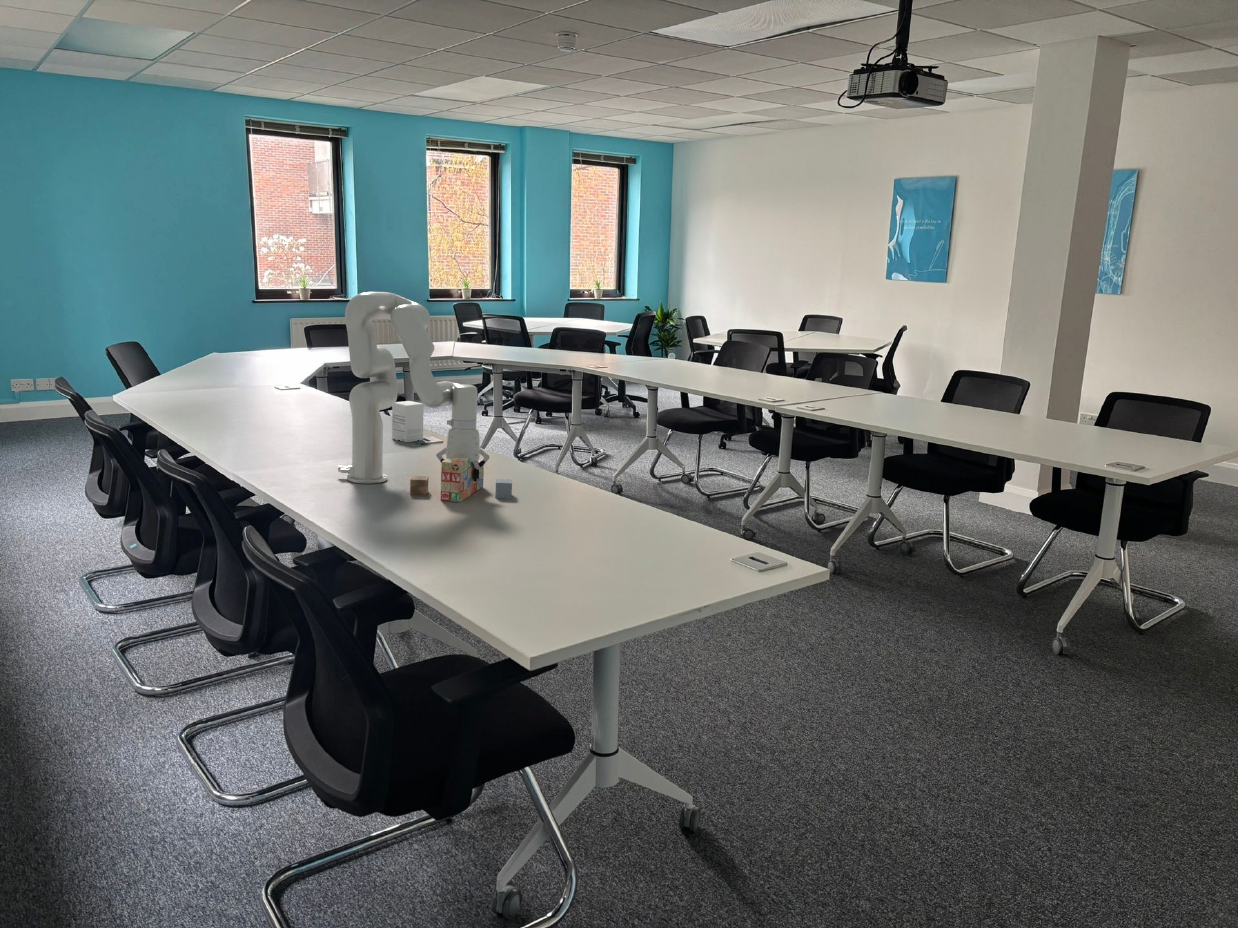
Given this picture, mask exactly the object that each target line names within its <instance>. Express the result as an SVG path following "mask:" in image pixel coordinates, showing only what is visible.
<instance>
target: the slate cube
mask: <svg viewBox="0 0 1238 928" xmlns="http://www.w3.org/2000/svg"><path fill="white" fill-rule="evenodd" d="M512 492H513V479H512V478H511V479H508V478H503V479H502V478H496V479H495V497H494V498H495V499H509V500H510V499H512V498H513V497H512V496H513V495H512V494H513V493H512Z"/></svg>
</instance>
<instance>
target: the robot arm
mask: <svg viewBox="0 0 1238 928" xmlns="http://www.w3.org/2000/svg"><path fill="white" fill-rule="evenodd" d="M373 320H389V321H391V324H392V326H393V328H394V331H395V333H396V334H397V337H398V339H399V341H400V342H401V345H402V346H403V349H404V350H405V353H406V355H407V356H408V359H409V363H408V364H409V365H408V366H409V376H410V382H411V383H412V386H413V388H414V390H415V392H416V394H417V396H418V398H419V400H420V401H421V403H423V405H425V407H427V408H430V409H438V408H442V407H446V406H451V409H452V410H451V419H448V420H446V425H448V426H451V427H450V428H448V433H447V439H446V447H444V448H443V449H441V450H440V451H439V452H436V454H435V455H436V458H437V459H438V460H439V461H440V464H442V461H444V460H446V459H448V458H450V457H454V458H470V462H473V463H474V465H475V470H474V481H475V482H476V481H477V479H479V469H480V468H481V467H482V466H483V465H485V464H486V463H487V462H488V461H489V459H490V455H489V454H488V453H487V452H485V451H484V450H483V449H482V448H481V443H480V442H481V441H480V431H479V428H477V419H478V417H477V415H478V412H477V411H478V388H477V386H475V385H472V384H466V383H462V384H461V383H456V382H453V381H450V380H449V381H448V380H444V381H438V382H437V381H436V379H435V377H434V375H433V373H432V370H431V364H430V360H431V357H432V355H433V353H434V352H435V345H434V343H433V341H432V339H431V337H430V334H429V333H428V331H427V328H428V327H429V326H430V323H431V315H430V312H429V311H428V309H427V308H426V307H425V306H424V305H422V304H420V303H419V302H418V303H417V302H416V301H413V300H410V299H408V298H405V297H403V296H401V295H398V294H396V293H394V292H393V293H392V292H386V291H367V292H365V291H364V292H360V293H358V294H356V295H354V296H353V297H351V299H349V301H348V303H347V304H346V306H345V310H344V321H345V326H346V331H347V340H348V343H347V344H348V351H349V352H348V353H349V362H350V363H349V364H350V369H351V372H352V373H353V375H354V376H355V377H356V378H357V377H358V378H360V379H368V378H369V381H366V382H361V383H359V384H357V385H355V386H354V387H353V388H352V389H351V390H350V393H349V396H348V401H349V407H350V413H351V414H350V415H351V423H352V424H351V432H352V433H351V437H352V438H351V439H352V440H351V441H352V442H351V443H352V444H351V449H352V450H351V455H352V456H351V462H352V463H351V464H350V465H348V466H345V465H338V467H337V469H338V473H340V474H348V475H347V476H346V480H347V481H349V482H352V483H355V484H370V485H371V484H378V483H383V482H386V481H387V480H388V475H387V474H385V473H383V469H384V468H383V467H384V466H383V465H384V464H383V462H384V461H383V459H384V455H383V454H384V453H383V451H384V423H383V418H382V415H381V411H382V410H387V409H389V408H392V406H393V405H394V403H395V402H397V399H398V382H397V373H396V363H395V359H394V357H393V354H392V353H391V351H389V349H388V348H386V347H383V346H378V344H377V335H376V331H375V328H374V326H373V324H372V321H373ZM443 455H445V457H446V459H445V458H444V457H443ZM480 456H482V457H483V458H482V459H483V460H482V461H481V462H480V463H479V462H478V460H479V459H480Z"/></svg>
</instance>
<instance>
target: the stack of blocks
mask: <svg viewBox="0 0 1238 928" xmlns="http://www.w3.org/2000/svg"><path fill="white" fill-rule="evenodd" d="M483 459H484V458H479V460H478V462H479V463H480V462H481V461H482V460H483ZM484 465H485V464H484ZM484 465H483V466H482V467H481V468H480V469H479V479H477V481H476V482H475V481H474V470H475V465H474V463H473V462H470V458H454V457H450V458H448V459H447V458H446V459H445V460H444V461H442V463H441V467H440V468H441V469H440V470H441V472H440V473H441V474H440V501H443V502H451V503H452V502H453V503H461V502H462V501H464V500H465V499H468V498H469V497H470V496H471V495H473V494H474V493H475V492H478V491H479V490H480V489H483V487H484V478H485V477H484V475H485V471H484Z"/></svg>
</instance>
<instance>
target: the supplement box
mask: <svg viewBox="0 0 1238 928" xmlns="http://www.w3.org/2000/svg"><path fill="white" fill-rule="evenodd" d="M391 411H392V412H391V413H392V414H391V416H392V417H391V440H394V439H395V440H394V441H398V440H400V441H399V442H402V441H403V443H411V442H418V440H419V441H423V440H424V403H423V402H416V401H413V400H412V401H411V400H405V401H396V402H395V403H394V405H393V406H391Z"/></svg>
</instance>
